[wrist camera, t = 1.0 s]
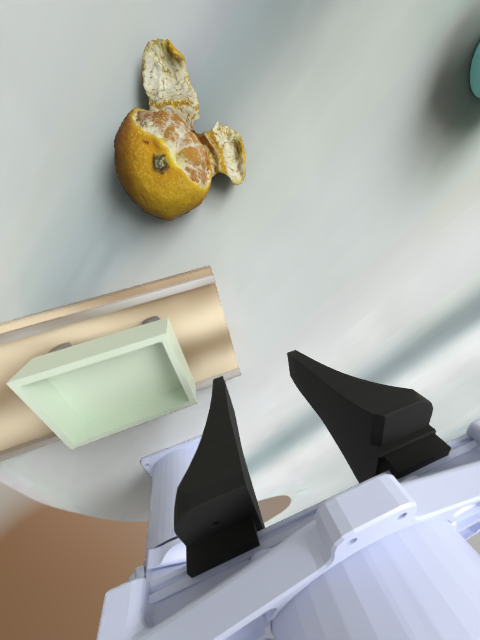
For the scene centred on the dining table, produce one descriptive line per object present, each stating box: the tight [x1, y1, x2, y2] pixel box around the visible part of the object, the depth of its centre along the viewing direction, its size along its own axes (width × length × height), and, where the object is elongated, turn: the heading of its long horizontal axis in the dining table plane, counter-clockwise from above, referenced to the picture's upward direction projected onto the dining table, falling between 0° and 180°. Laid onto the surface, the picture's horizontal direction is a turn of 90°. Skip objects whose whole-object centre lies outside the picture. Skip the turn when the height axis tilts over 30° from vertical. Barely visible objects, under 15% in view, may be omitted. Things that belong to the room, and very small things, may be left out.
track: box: [0, 266, 241, 461], centre depth 18 cm, size 12×25×3 cm, turn 103°
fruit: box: [114, 39, 245, 220], centre depth 13 cm, size 8×8×4 cm
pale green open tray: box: [6, 316, 197, 449], centre depth 17 cm, size 7×10×4 cm
